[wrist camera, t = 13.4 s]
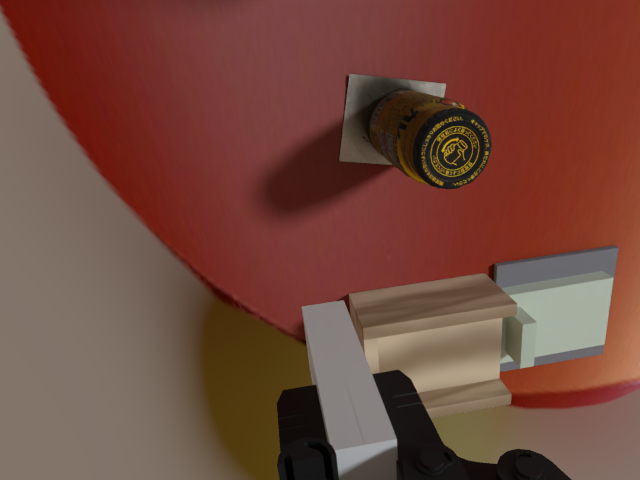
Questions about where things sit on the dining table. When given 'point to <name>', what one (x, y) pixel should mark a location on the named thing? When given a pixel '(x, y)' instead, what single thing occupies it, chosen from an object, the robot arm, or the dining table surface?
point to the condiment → (413, 131)
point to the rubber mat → (554, 269)
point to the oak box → (438, 339)
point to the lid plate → (556, 317)
